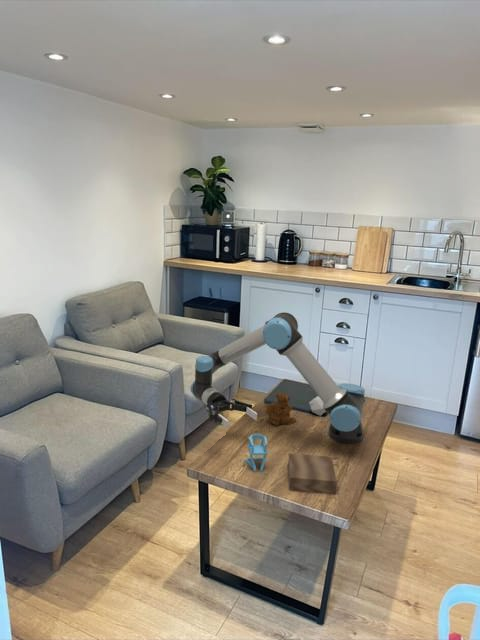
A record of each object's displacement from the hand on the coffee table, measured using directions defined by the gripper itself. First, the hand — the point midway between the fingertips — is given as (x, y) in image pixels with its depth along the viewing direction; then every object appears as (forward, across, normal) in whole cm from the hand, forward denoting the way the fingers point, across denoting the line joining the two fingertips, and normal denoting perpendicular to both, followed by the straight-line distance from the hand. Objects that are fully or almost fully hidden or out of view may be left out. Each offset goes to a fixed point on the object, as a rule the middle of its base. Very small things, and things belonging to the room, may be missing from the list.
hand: (242, 420), depth 181 cm
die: (-12, -53, -14) cm, 57 cm away
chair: (+10, 0, -14) cm, 18 cm away
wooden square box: (+27, -13, -14) cm, 33 cm away
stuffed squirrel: (-14, -31, -14) cm, 37 cm away
